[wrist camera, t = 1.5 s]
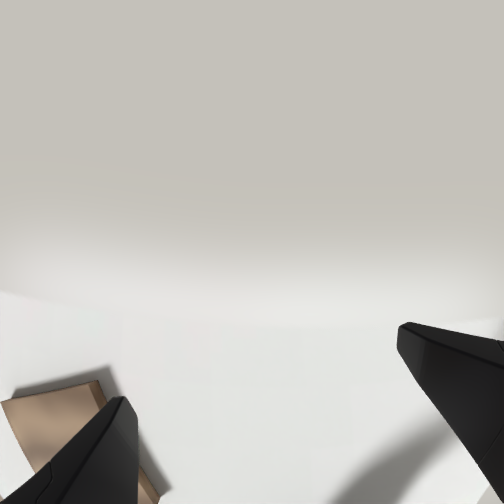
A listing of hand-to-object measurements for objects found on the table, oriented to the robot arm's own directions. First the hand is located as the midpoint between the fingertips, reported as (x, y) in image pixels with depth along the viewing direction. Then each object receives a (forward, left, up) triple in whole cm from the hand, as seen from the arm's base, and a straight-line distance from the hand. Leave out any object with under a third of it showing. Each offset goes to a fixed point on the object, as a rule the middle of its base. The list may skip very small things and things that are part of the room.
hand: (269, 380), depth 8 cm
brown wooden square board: (-7, +22, -16) cm, 28 cm away
